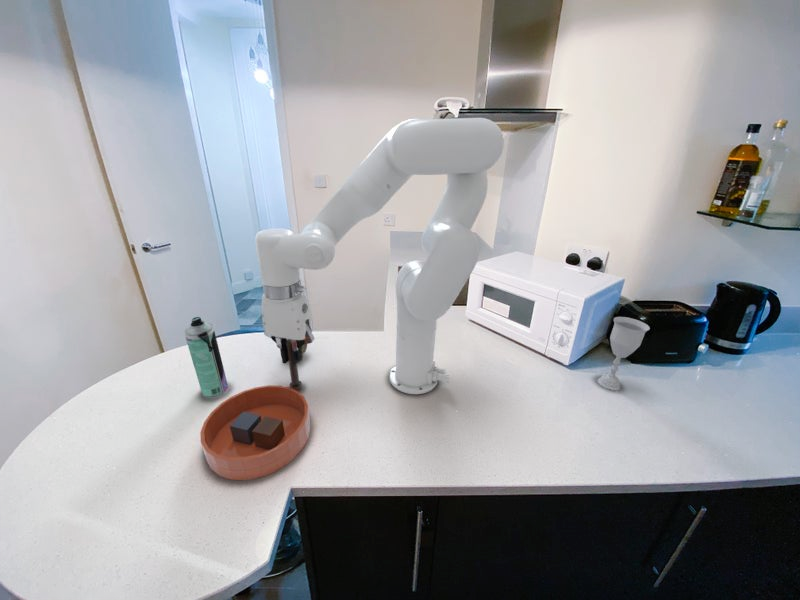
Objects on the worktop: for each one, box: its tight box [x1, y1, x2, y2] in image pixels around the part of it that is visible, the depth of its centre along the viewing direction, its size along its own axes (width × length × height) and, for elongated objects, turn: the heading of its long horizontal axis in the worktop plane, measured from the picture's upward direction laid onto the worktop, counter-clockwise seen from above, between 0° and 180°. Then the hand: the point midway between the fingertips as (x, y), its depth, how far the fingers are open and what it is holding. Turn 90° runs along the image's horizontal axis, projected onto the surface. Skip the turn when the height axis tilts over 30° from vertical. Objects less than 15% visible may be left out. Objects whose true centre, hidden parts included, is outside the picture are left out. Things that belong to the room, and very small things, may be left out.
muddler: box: [286, 339, 303, 392], centre depth 75 cm, size 3×3×14 cm
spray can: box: [184, 316, 229, 399], centre depth 72 cm, size 6×6×20 cm
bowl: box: [200, 384, 311, 481], centre depth 63 cm, size 19×19×6 cm
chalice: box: [597, 316, 651, 391], centre depth 79 cm, size 7×7×18 cm
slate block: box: [230, 411, 261, 445], centre depth 63 cm, size 4×4×4 cm
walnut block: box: [252, 416, 285, 450], centre depth 62 cm, size 4×4×4 cm
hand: (292, 360), depth 74 cm, fingers closed on muddler
